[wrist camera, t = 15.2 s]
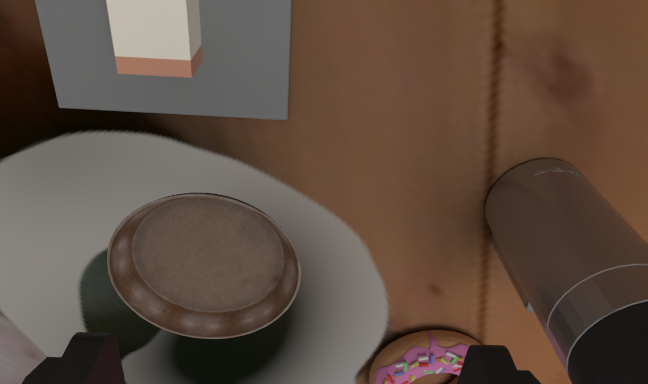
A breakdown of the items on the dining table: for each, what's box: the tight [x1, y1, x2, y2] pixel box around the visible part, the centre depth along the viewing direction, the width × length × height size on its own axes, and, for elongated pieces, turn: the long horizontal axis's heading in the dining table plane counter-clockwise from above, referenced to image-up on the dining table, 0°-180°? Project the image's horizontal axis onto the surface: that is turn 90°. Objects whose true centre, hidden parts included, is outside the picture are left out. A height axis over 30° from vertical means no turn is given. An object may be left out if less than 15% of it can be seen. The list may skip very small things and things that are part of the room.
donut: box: [369, 330, 481, 384], centre depth 55 cm, size 14×14×5 cm
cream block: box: [106, 0, 203, 78], centre depth 33 cm, size 5×9×4 cm, turn 176°
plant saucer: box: [107, 193, 301, 339], centre depth 47 cm, size 18×18×3 cm
